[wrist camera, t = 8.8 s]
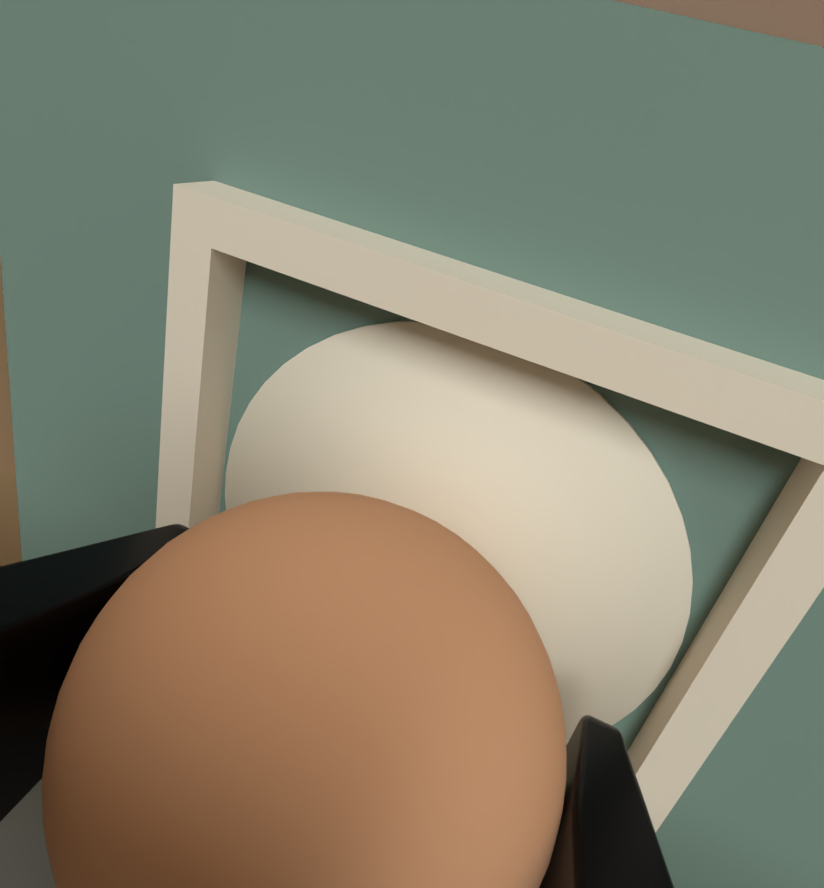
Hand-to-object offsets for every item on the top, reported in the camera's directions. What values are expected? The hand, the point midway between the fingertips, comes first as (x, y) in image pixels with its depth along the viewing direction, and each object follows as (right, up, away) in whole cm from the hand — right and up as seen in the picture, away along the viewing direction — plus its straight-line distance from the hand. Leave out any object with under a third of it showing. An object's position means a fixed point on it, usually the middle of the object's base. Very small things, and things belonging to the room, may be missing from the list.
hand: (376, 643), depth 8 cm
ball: (-1, -1, -1) cm, 2 cm away
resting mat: (+1, +1, +2) cm, 2 cm away
